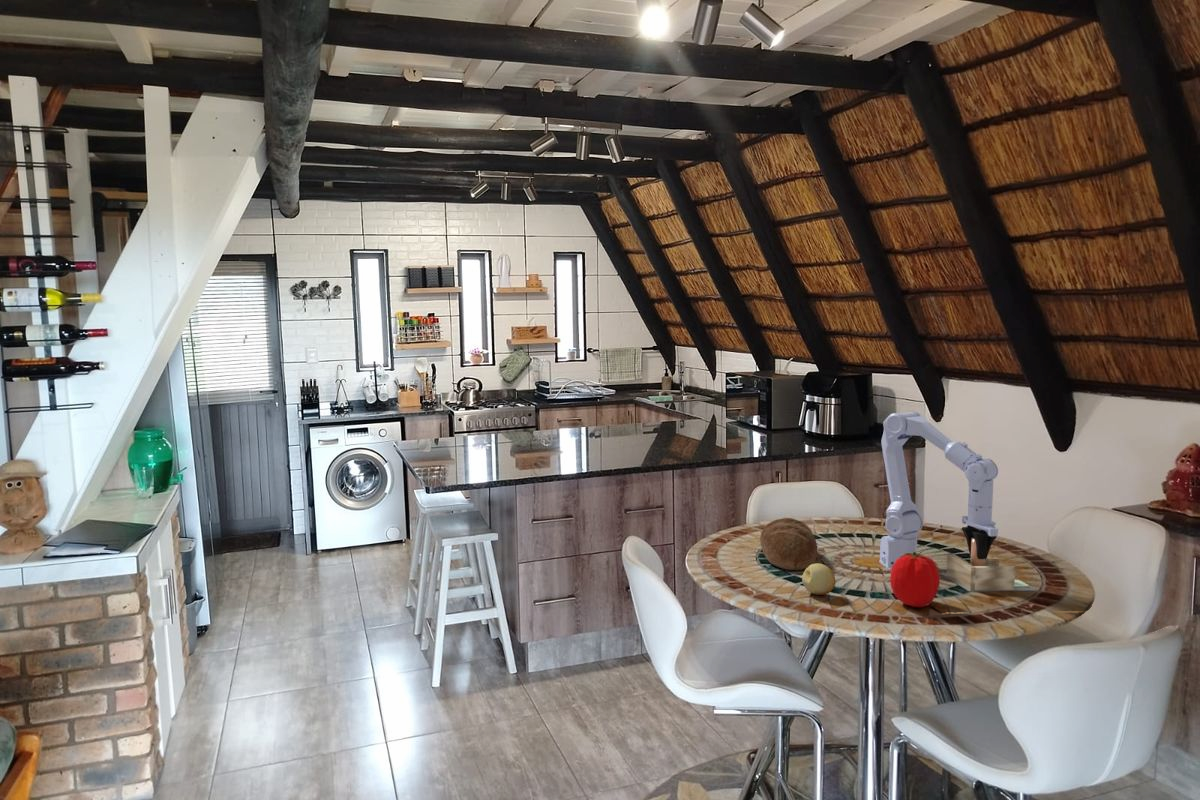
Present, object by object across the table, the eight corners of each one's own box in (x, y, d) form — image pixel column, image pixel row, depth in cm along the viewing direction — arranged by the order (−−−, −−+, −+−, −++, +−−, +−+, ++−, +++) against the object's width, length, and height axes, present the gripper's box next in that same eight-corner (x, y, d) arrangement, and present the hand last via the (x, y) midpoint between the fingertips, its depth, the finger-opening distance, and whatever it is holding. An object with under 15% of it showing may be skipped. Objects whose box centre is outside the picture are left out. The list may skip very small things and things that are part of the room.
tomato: (901, 614, 196) (903, 559, 194) (881, 597, 208) (882, 545, 207) (949, 613, 196) (951, 559, 195) (926, 596, 208) (928, 545, 207)
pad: (1010, 587, 214) (1010, 586, 214) (1000, 581, 219) (1000, 580, 219) (1029, 587, 214) (1029, 585, 214) (1018, 581, 219) (1018, 579, 219)
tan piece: (970, 590, 212) (971, 567, 211) (946, 575, 224) (947, 553, 224) (1014, 589, 212) (1015, 567, 212) (987, 574, 225) (988, 553, 225)
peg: (974, 570, 215) (975, 540, 214) (967, 567, 218) (968, 537, 217) (987, 570, 215) (988, 540, 214) (980, 566, 218) (981, 537, 218)
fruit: (803, 588, 215) (804, 558, 214) (836, 592, 212) (837, 561, 211) (799, 597, 208) (800, 566, 207) (833, 601, 205) (834, 569, 204)
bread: (806, 545, 257) (807, 510, 256) (823, 573, 228) (824, 533, 227) (756, 544, 259) (756, 508, 258) (766, 571, 230) (767, 531, 229)
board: (968, 593, 211) (969, 591, 211) (939, 574, 227) (939, 572, 227) (1036, 592, 212) (1036, 590, 212) (1002, 573, 228) (1002, 571, 228)
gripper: (1010, 511, 208) (1008, 564, 209) (980, 499, 222) (978, 548, 224) (983, 511, 208) (981, 564, 209) (955, 500, 222) (953, 549, 223)
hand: (978, 556), depth 216 cm, fingers closed on peg, 3 cm apart
